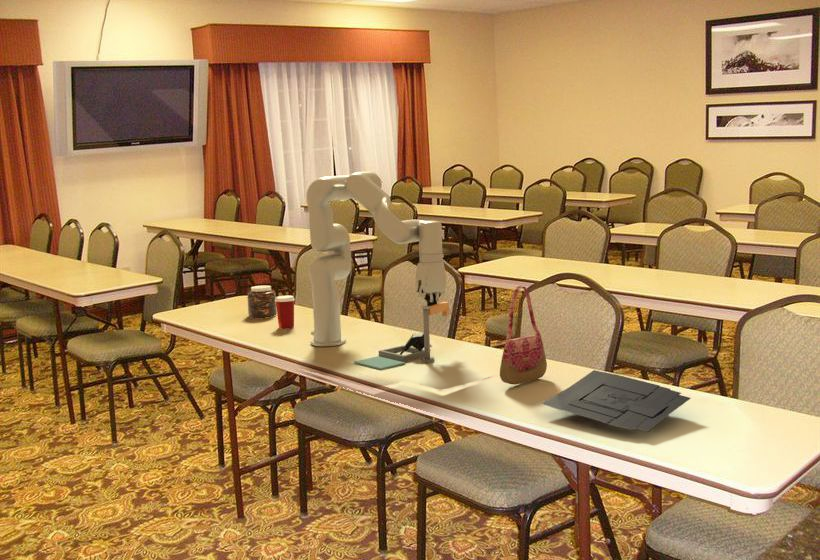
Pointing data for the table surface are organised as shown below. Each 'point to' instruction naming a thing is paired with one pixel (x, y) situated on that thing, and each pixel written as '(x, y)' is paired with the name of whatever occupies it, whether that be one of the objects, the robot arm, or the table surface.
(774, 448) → the table surface
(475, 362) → the table surface
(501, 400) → the table surface
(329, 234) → the robot arm
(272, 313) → the jar
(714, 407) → the table surface
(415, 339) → the power plug
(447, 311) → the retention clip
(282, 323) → the paper cup
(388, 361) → the mat
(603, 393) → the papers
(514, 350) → the shoulder bag
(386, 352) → the plug dock
